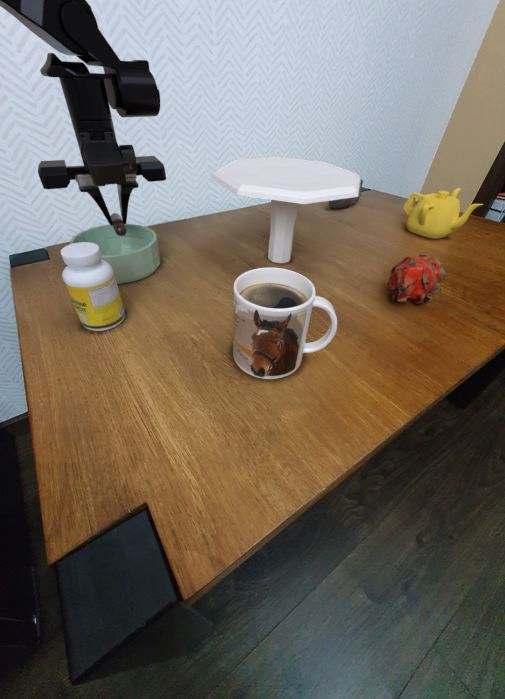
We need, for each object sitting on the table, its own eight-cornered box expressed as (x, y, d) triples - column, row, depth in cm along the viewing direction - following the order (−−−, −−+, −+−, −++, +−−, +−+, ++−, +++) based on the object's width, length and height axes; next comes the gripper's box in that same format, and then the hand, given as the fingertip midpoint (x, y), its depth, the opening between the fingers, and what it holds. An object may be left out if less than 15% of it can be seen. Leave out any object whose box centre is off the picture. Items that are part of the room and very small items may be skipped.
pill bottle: (82, 312, 49) (54, 241, 42) (125, 305, 51) (105, 236, 44) (81, 336, 45) (49, 263, 37) (127, 328, 47) (106, 256, 39)
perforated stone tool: (334, 213, 90) (339, 187, 85) (320, 208, 93) (324, 183, 88) (363, 204, 97) (369, 180, 93) (349, 200, 100) (354, 176, 96)
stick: (117, 238, 54) (114, 227, 53) (111, 222, 59) (108, 212, 58) (128, 237, 55) (126, 225, 53) (121, 221, 60) (119, 211, 59)
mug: (265, 322, 49) (271, 257, 42) (331, 358, 44) (351, 291, 36) (218, 355, 43) (215, 286, 36) (287, 401, 38) (300, 331, 30)
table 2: (366, 257, 69) (392, 173, 58) (298, 310, 52) (315, 207, 41) (267, 224, 81) (272, 150, 70) (186, 258, 65) (177, 169, 54)
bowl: (82, 292, 54) (71, 262, 50) (77, 255, 64) (67, 229, 60) (169, 276, 59) (164, 248, 55) (151, 245, 69) (147, 220, 65)
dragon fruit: (424, 295, 61) (389, 324, 56) (400, 259, 61) (363, 286, 56) (466, 275, 53) (429, 308, 48) (438, 235, 53) (398, 263, 48)
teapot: (464, 244, 77) (486, 202, 70) (409, 239, 77) (426, 197, 71) (443, 224, 87) (461, 185, 80) (395, 220, 88) (409, 182, 81)
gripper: (15, 127, 37) (63, 249, 48) (167, 125, 44) (180, 233, 54) (20, 116, 45) (61, 224, 55) (150, 116, 51) (164, 213, 62)
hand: (118, 224), depth 56 cm, fingers closed on stick, 2 cm apart
